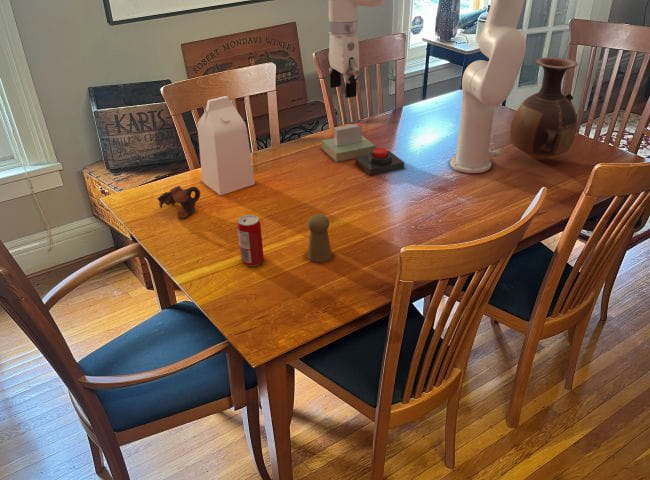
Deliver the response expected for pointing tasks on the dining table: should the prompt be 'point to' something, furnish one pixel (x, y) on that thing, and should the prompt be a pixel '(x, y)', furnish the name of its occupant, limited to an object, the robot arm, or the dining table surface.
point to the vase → (546, 115)
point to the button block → (379, 163)
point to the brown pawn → (319, 239)
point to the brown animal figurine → (181, 199)
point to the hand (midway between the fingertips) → (343, 91)
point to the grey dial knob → (348, 134)
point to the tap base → (347, 149)
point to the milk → (224, 148)
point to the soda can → (250, 240)
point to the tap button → (380, 152)
